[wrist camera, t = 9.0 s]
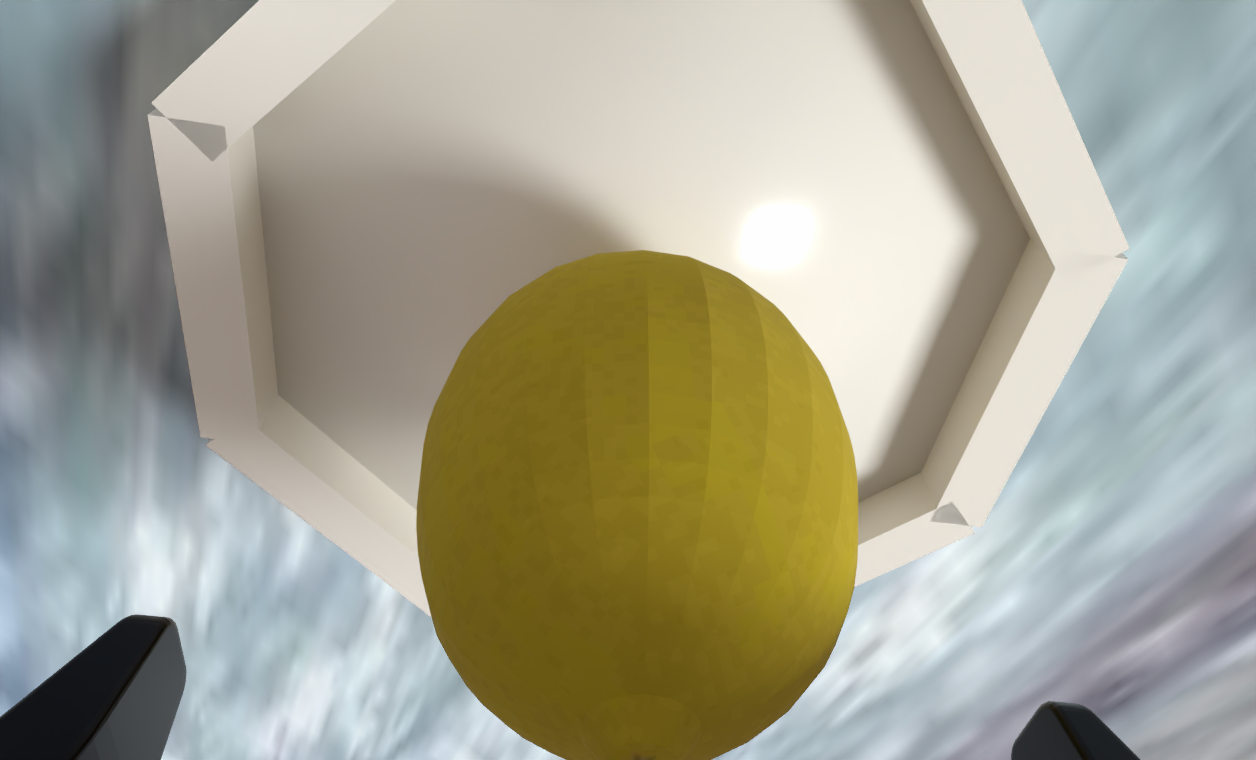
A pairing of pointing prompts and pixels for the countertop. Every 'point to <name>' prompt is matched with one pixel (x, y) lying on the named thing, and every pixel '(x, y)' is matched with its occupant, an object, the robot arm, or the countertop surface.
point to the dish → (627, 225)
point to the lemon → (637, 511)
